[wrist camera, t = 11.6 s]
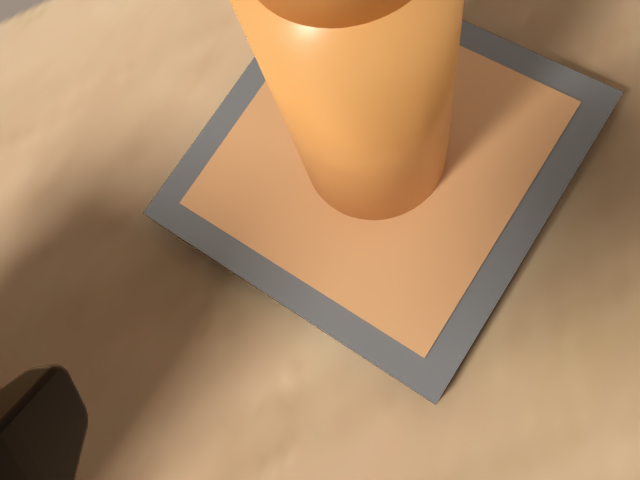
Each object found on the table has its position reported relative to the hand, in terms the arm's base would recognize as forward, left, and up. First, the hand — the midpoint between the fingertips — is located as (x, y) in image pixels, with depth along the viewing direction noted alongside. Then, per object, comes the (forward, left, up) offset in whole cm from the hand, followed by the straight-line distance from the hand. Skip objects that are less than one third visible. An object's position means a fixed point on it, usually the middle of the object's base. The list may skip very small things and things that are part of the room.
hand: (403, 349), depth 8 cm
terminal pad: (+5, -6, -12) cm, 15 cm away
